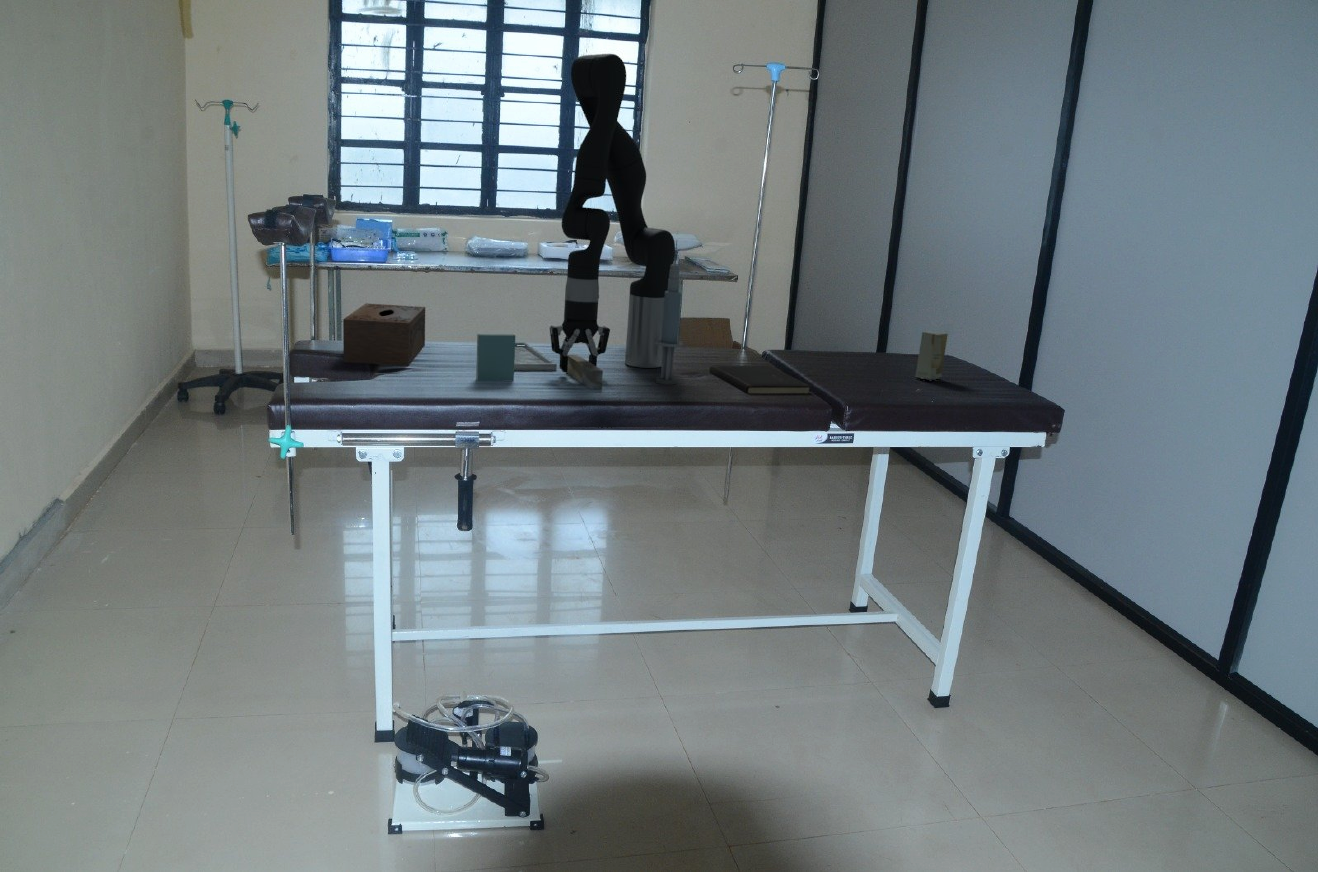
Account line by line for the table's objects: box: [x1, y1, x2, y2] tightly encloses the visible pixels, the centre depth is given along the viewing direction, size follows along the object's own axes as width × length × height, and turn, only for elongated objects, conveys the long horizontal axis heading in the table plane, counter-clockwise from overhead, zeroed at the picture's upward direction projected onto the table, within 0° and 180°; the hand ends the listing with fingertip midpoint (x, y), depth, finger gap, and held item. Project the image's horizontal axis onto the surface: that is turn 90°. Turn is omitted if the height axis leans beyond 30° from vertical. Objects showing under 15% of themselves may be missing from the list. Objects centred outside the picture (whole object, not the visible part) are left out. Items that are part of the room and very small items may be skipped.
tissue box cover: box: [342, 302, 426, 367], centre depth 242 cm, size 26×14×10 cm, turn 5°
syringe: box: [655, 231, 684, 385], centre depth 230 cm, size 5×6×35 cm
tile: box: [475, 333, 516, 382], centre depth 223 cm, size 8×2×10 cm, turn 112°
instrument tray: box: [514, 341, 558, 372], centre depth 248 cm, size 12×28×2 cm, turn 22°
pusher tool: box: [566, 354, 604, 390], centre depth 230 cm, size 3×18×4 cm, turn 22°
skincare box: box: [915, 330, 949, 379], centre depth 261 cm, size 6×4×12 cm
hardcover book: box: [708, 364, 812, 395], centre depth 242 cm, size 16×23×2 cm
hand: (577, 371), depth 234 cm, fingers open, 5 cm apart
